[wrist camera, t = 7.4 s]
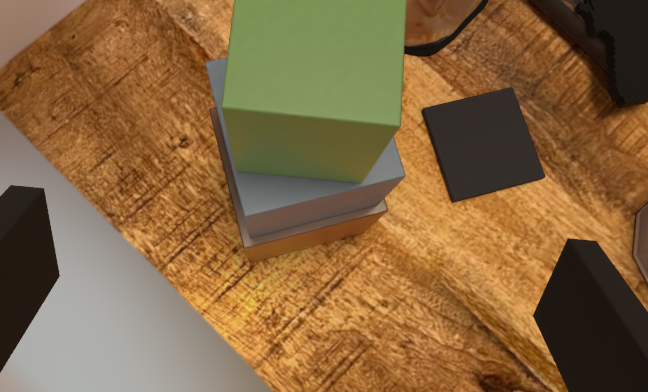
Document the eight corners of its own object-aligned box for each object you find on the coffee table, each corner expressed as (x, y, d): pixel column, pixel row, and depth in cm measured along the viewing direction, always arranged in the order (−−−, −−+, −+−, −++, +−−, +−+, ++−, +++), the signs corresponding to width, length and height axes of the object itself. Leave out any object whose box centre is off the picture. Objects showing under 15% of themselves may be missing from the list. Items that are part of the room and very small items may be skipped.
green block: (362, 183, 26) (401, 127, 18) (236, 171, 25) (220, 107, 18) (369, 68, 27) (408, -31, 19) (249, 55, 27) (240, -53, 19)
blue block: (218, 113, 33) (204, 61, 26) (342, 86, 34) (359, 29, 28) (250, 238, 32) (244, 217, 25) (378, 205, 33) (406, 175, 26)
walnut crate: (221, 151, 42) (208, 108, 33) (332, 125, 43) (347, 77, 34) (250, 263, 40) (243, 248, 32) (364, 232, 42) (388, 210, 33)
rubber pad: (421, 110, 44) (423, 107, 44) (509, 89, 45) (512, 86, 45) (451, 202, 43) (454, 201, 42) (542, 178, 44) (545, 177, 43)
